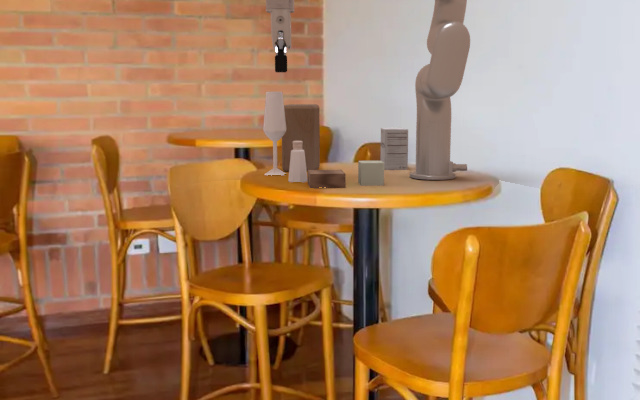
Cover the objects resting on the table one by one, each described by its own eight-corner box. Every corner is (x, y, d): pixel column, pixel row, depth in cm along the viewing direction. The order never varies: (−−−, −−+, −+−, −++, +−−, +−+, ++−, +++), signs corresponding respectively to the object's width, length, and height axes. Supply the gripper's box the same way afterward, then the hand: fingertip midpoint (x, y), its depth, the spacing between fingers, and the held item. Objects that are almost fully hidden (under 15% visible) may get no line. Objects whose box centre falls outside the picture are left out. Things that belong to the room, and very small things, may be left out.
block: (313, 172, 214) (313, 105, 210) (281, 171, 216) (280, 105, 212) (320, 168, 223) (320, 104, 220) (289, 167, 225) (288, 104, 222)
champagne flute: (261, 173, 211) (260, 91, 207) (283, 172, 213) (282, 91, 209) (266, 176, 205) (265, 91, 201) (289, 175, 207) (288, 91, 203)
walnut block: (341, 184, 190) (341, 169, 190) (345, 189, 181) (345, 173, 181) (307, 184, 189) (307, 169, 189) (310, 189, 181) (310, 174, 180)
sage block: (380, 182, 191) (380, 160, 190) (383, 185, 185) (384, 162, 184) (358, 183, 191) (358, 160, 190) (361, 186, 185) (361, 163, 184)
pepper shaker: (310, 182, 192) (310, 141, 190) (290, 183, 190) (290, 141, 189) (304, 179, 197) (304, 139, 195) (285, 180, 196) (285, 140, 194)
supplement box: (379, 167, 226) (380, 127, 224) (402, 167, 226) (403, 127, 224) (384, 170, 218) (384, 128, 216) (408, 169, 219) (408, 128, 217)
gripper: (295, 2, 180) (295, 71, 183) (293, 9, 197) (294, 72, 200) (265, 2, 180) (266, 71, 183) (266, 9, 197) (267, 72, 200)
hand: (281, 72), depth 191 cm, fingers open, 9 cm apart
